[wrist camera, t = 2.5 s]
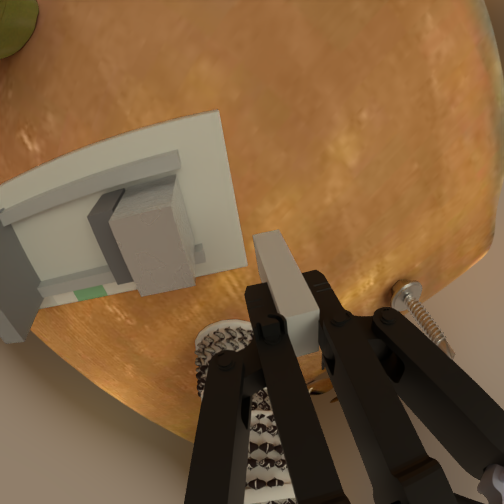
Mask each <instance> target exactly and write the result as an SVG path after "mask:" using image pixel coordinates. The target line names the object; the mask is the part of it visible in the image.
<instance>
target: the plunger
mask: <svg viewBox="0 0 504 504" xmlns="http://www.w3.org/2000/svg"><path fill="white" fill-rule="evenodd" d="M109 225H110V227H111V230H112V232H113V235H114V237H115V239H116V242H117V244H118V247H119V249H120V251H121V254H122V256H123V258H124V261H125V263H126V265H127V267H128V269H129V272H130V274H131V276H132V278H133V280H134V283H135V285H136V287H137V289H138V291H139V293H140V295H141V297H143V296H147V295H152V294H157V293H162V292H167V291H172V290H177V289H182V288H187V287H191V286H196V279H195V240H194V236H193V233H192V229H191V226H190V222H189V218H188V215H187V211H186V207H185V204H184V200H183V196H182V192H181V189H180V185H179V181H178V177H177V174H174V175H170V176H166V177H162V178H158V179H154V180H151V181H147V182H143V183H140V184H136V185H133V186H129V187H127V189H126V191H125V193H124V194H123V196H122V198H121V200H120V202H119V203H118V205H117V207H116V209H115V211H114V213H113V214H112V216H111V218H110V220H109Z"/></svg>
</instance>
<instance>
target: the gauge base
mask: <svg viewBox="0 0 504 504" xmlns="http://www.w3.org/2000/svg"><path fill="white" fill-rule="evenodd" d="M174 174H177V177H178V181H179V185H180V189H181V192H182V196H183V200H184V204H185V207H186V211H187V215H188V218H189V222H190V226H191V229H192V233H193V236H194V240H195V277H199V276H204V275H208V274H213V273H218V272H222V271H227V270H232V269H236V268H241V267H245V266H248V264H247V259H246V253H245V248H244V243H243V238H242V232H241V227H240V222H239V216H238V211H237V206H236V200H235V195H234V190H233V184H232V179H231V174H230V168H229V163H228V157H227V152H226V147H225V141H224V136H223V130H222V125H221V119H220V114H219V110H218V109H216V110H211V111H206V112H202V113H197V114H193V115H188V116H184V117H180V118H176V119H172V120H168V121H164V122H160V123H156V124H153V125H149V126H145V127H142V128H139V129H135V130H132V131H129V132H125V133H122V134H119V135H116V136H113V137H110V138H107V139H104V140H101V141H99V142H96V143H93V144H90V145H87V146H85V147H82V148H80V149H77V150H74V151H72V152H69V153H67V154H64V155H62V156H60V157H57V158H55V159H52V160H50V161H48V162H46V163H43V164H41V165H39V166H37V167H34V168H32V169H30V170H28V171H26V172H24V173H22V174H20V175H18V176H16V177H14V178H12V179H10V180H8V181H6V182H4V183H2V184H0V337H1V338H2V340H3V341H4V342H5V343H16V342H25V340H26V337H27V335H28V333H29V330H30V328H31V326H32V323H33V321H34V319H35V317H36V314H37V312H38V310H39V309H42V308H48V307H53V306H58V305H63V304H68V303H73V302H78V301H83V300H88V299H93V298H98V297H103V296H108V295H113V294H118V293H123V292H128V291H132V290H137V287H136V285H135V283H134V282H129V283H124V284H120V285H118V284H117V282H116V280H115V278H114V276H113V274H112V272H111V270H110V268H109V266H108V264H107V262H106V260H105V257H104V255H103V253H102V251H101V249H100V247H99V244H98V242H97V240H96V237H95V235H94V233H93V230H92V228H91V226H90V223H89V221H88V218H87V216H88V214H89V213H90V211H91V210H92V208H93V207H94V205H95V204H96V203H97V201H98V200H99V198H100V197H101V195H102V194H105V193H109V192H112V191H115V190H119V189H122V188H125V191H126V189H127V187H129V186H133V185H136V184H140V183H143V182H147V181H151V180H154V179H158V178H162V177H166V176H170V175H174Z"/></svg>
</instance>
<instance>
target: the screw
mask: <svg viewBox="0 0 504 504" xmlns="http://www.w3.org/2000/svg"><path fill="white" fill-rule="evenodd" d="M421 292H422V285H421V284H420V283H419V282H418V281H416V280H413V281H409V282H408V280H399V281H398V282H397V283H396V284H395V285H394V286H393V287H392V295H393V296H392V299H391V307H392V308H394V309H396V310H397V311H404V310H407V309H408V311H409V312H410V313H411V315H413V318H415V320H416V321H417V323H418V325H420V327H421V328H422V330H423V331H424V332H425V335H427V337H428V338H429V339H430V340H431V341H432V342H434V343H435V344H436V345H437V346H438V347H439V348H440V349H441V350H442V351H443V352H444V353H445V354H446V355H448V356H449V357H450V358H451V359H452V360H453V358H454V356H455V353H454V351H453V350H452V348H451V347H450V345H449V344H448V342H447V341H446V339H445V338H446V336H443V334H444V333H443V332H441V329H439V328H438V325H436V322H433V319H431V316H430V315H428V312H426V309H424V306H423V305H421V302H419V300H418V299H419V298H420V295H421Z"/></svg>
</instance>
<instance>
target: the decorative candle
mask: <svg viewBox="0 0 504 504" xmlns="http://www.w3.org/2000/svg"><path fill="white" fill-rule="evenodd" d="M252 339H253V330H252V326H251V322H248V321H243V320H239V319H231V320H221V321H218V322H215V323H212V324H209V325H208V326H207V327H205V328H204V329H203V330H201V331H200V332H199V334H198V336H197V338H196V340H195V346H196V351H195V354H196V355H198V357H197V358H196V361H195V364H196V365H197V366H199V367H198V368H197V369H196V371H197V372H198V373H197V374H196V377H197V379H198V381H197V383H198V385H197V390H198V391H199V392H198V395H199V396H200V397H201V400H202V398H203V392H204V387H205V382H206V377H207V371H208V366H209V362H210V360H211V358H212V357H213V356H214V355H215V354H216V353H218V352H220V351H222V350H234V351H236V352H237V351H239V350H241V349H243V348H245V347H246V346H248V344H249V343H250V342H251V341H252ZM244 504H297V501H296V498H295V494H294V490H293V487H292V483H291V479H290V476H289V472H288V468H287V465H286V461H285V457H284V453H283V450H282V446H281V442H280V438H279V434H278V431H277V427H276V423H275V419H274V415H273V411H272V407H271V403H270V400H269V396H268V392H267V388H264V389H262V390H260V391H258V392H257V393H255V394H253V398H252V411H251V424H250V436H249V449H248V461H247V473H246V484H245V496H244Z"/></svg>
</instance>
